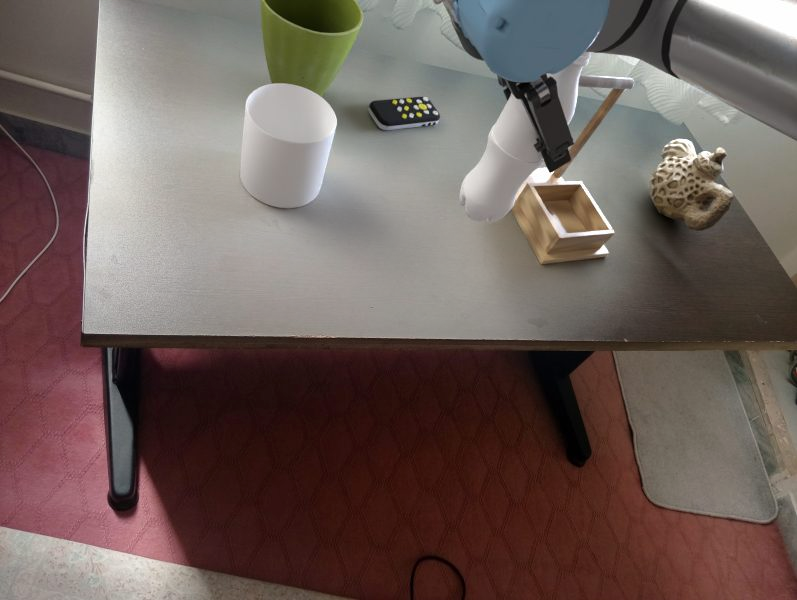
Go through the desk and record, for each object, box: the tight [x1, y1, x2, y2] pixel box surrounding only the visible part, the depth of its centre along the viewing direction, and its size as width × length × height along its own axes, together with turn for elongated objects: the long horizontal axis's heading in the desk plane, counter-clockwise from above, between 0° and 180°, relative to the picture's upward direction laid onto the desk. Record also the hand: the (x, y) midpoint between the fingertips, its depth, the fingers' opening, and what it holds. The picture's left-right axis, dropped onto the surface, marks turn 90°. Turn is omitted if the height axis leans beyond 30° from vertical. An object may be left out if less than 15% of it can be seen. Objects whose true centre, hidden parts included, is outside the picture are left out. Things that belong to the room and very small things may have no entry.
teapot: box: [648, 138, 735, 232], centre depth 98 cm, size 21×12×15 cm, turn 1°
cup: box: [239, 83, 338, 209], centre depth 74 cm, size 12×12×12 cm
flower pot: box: [259, 0, 364, 98], centre depth 84 cm, size 15×15×16 cm
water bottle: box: [458, 52, 592, 224], centre depth 62 cm, size 7×7×25 cm
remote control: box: [367, 96, 441, 131], centre depth 95 cm, size 6×13×2 cm, turn 118°
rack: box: [510, 74, 635, 265], centre depth 84 cm, size 20×15×21 cm
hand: (542, 140), depth 64 cm, fingers closed on water bottle, 7 cm apart
